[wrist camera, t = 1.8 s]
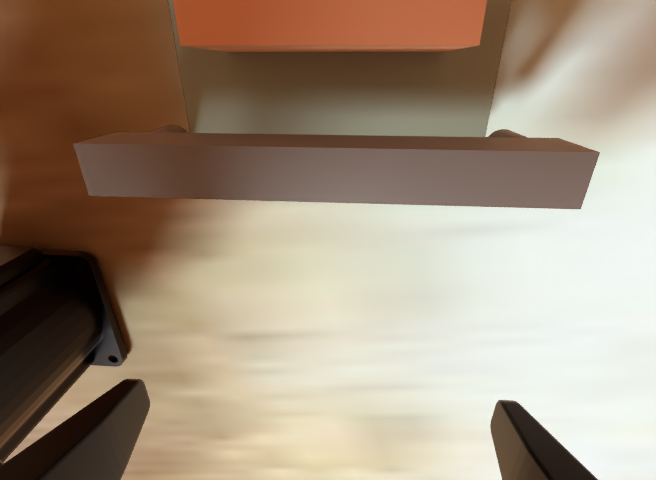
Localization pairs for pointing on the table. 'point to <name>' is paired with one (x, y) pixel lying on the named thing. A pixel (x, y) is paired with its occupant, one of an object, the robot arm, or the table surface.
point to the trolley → (339, 111)
